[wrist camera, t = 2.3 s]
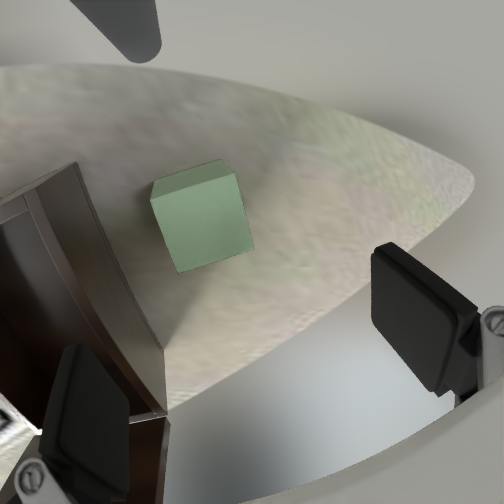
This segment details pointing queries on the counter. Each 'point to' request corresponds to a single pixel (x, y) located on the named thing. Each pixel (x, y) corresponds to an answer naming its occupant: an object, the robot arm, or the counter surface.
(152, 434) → the lid
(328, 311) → the counter surface
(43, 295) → the box
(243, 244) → the block
